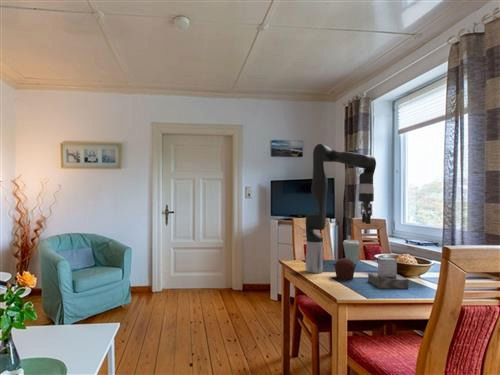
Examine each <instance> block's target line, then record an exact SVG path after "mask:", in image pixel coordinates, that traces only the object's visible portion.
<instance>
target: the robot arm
mask: <svg viewBox="0 0 500 375" xmlns="http://www.w3.org/2000/svg"><path fill="white" fill-rule="evenodd" d="M324 162H325V163H327V162H328V163H329V162H330V163H331V162H332V163H339V164H344V165H349V166H352V167H353V166H354V167H356V168H360V169H363V172H361V173H360V174H359V176H358V178H359V179H358V182H359V184H358V185H359V186H358V202H360V214H361V223H365V225H366V224H367V225H370V224H371V217H372V216H373V207H372V206H373V204H372V203H371V202H374V201H375V199H374V197H375V196H374V195H375V194H374V193H375V192H374V190H375V188H374V174H375V170H376V167H377V160H376V158H375V157H374V156H373V155H371V154H370V155H368V154H360V153H356V152H352V151H351V152H350V151H337V150H335V149H332V148H330V147H329V146H327V145H325V144H323V143H318V144H316V145H315V146H314V148H313V152H312V180H311V187H310V189H311V194H312V197H313V198H314V200H315V202H316V203H317V206H318V213H307V214H306V217H305V237H306V253H305V271H306V272H307V273H311V274H321V273H323V271H324V269H323V268H324V264H323V262H324V261H323V260H324V259H323V258H324V253H323V251H324V250H323V249H324V248H323V245H324V239H323V236H321V235H319V234H318V233H317V232H315V231H317V230H318V231H322V230H325V228H326V222H327V221H326V220H327V194H328V186H329V185H328V182H329V181H328V177H327V174H326V171H325V167H324V166H325V165H324ZM361 202H362V203H361Z"/></svg>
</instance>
